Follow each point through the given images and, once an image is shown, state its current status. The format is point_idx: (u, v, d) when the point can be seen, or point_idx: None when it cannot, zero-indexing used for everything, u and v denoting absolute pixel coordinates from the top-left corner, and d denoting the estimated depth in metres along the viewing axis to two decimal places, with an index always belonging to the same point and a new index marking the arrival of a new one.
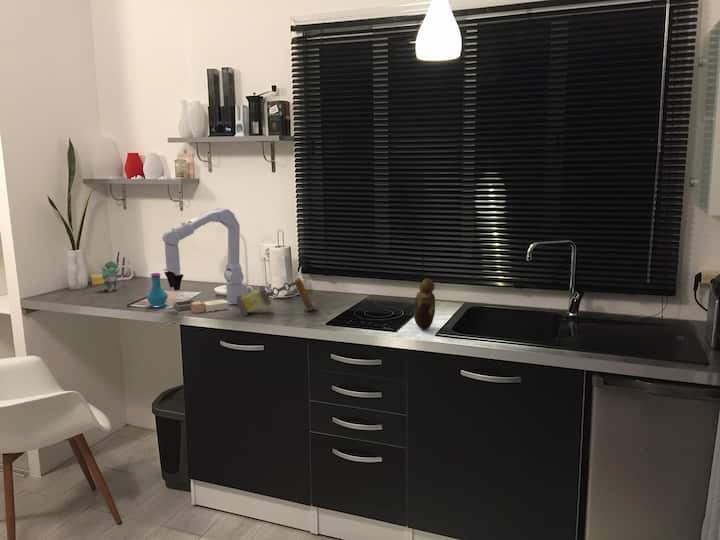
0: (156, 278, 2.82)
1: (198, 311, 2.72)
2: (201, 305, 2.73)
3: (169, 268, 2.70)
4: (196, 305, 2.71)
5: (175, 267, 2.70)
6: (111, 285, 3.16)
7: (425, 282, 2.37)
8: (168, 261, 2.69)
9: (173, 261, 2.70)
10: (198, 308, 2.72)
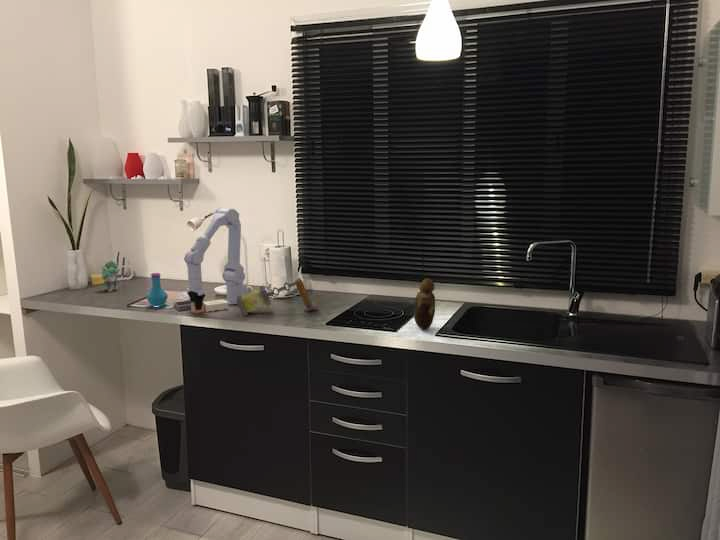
0: (156, 278, 2.82)
1: (198, 311, 2.72)
2: None
3: (192, 288, 2.70)
4: None
5: (198, 287, 2.70)
6: (111, 285, 3.16)
7: (425, 282, 2.37)
8: (191, 281, 2.69)
9: (196, 281, 2.69)
10: None
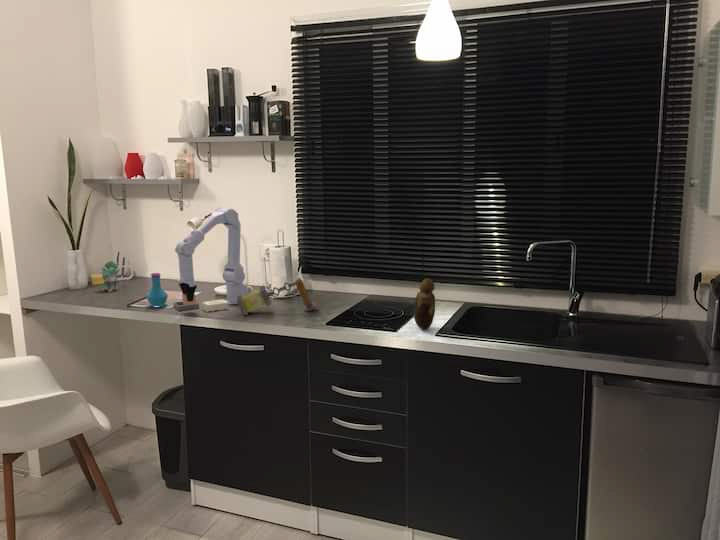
0: (156, 278, 2.82)
1: (189, 303, 2.70)
2: None
3: (183, 279, 2.67)
4: None
5: (189, 278, 2.68)
6: (111, 285, 3.16)
7: (425, 282, 2.37)
8: (182, 272, 2.67)
9: (187, 272, 2.67)
10: None
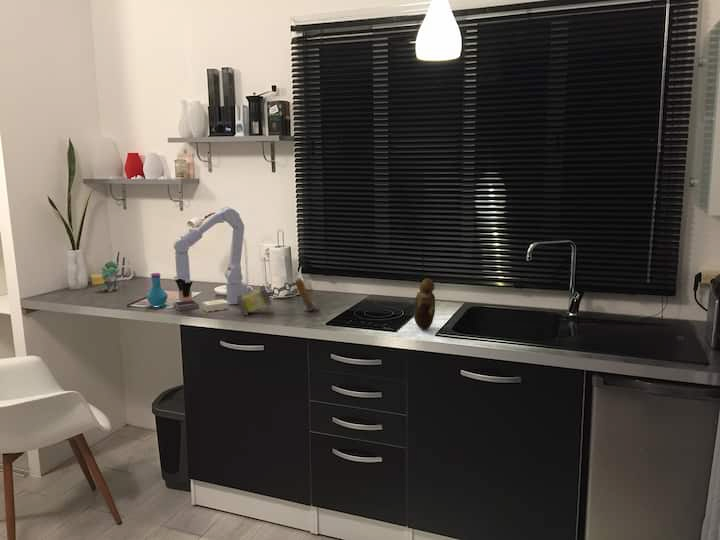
0: (156, 278, 2.82)
1: (185, 299, 2.79)
2: None
3: (179, 275, 2.76)
4: None
5: (185, 274, 2.77)
6: (111, 285, 3.16)
7: (425, 282, 2.37)
8: (178, 269, 2.76)
9: (183, 269, 2.76)
10: None
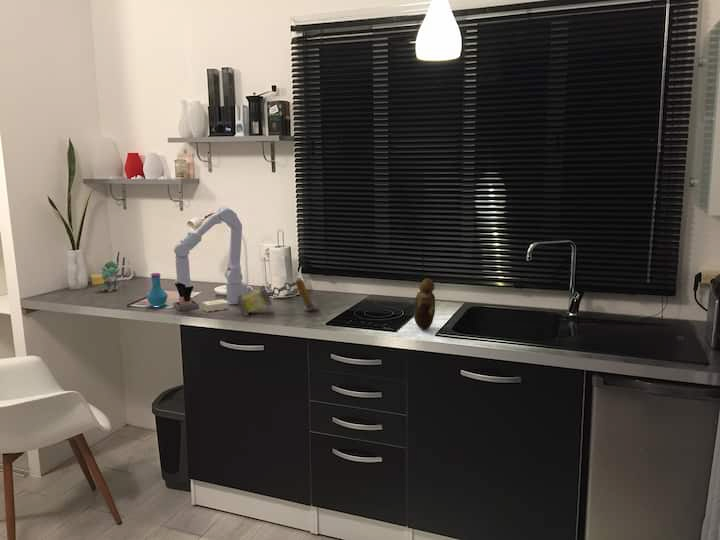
0: (156, 278, 2.82)
1: None
2: None
3: (180, 279, 2.77)
4: None
5: (185, 279, 2.77)
6: (111, 285, 3.16)
7: (425, 282, 2.37)
8: (179, 273, 2.76)
9: (183, 273, 2.76)
10: (186, 302, 2.79)
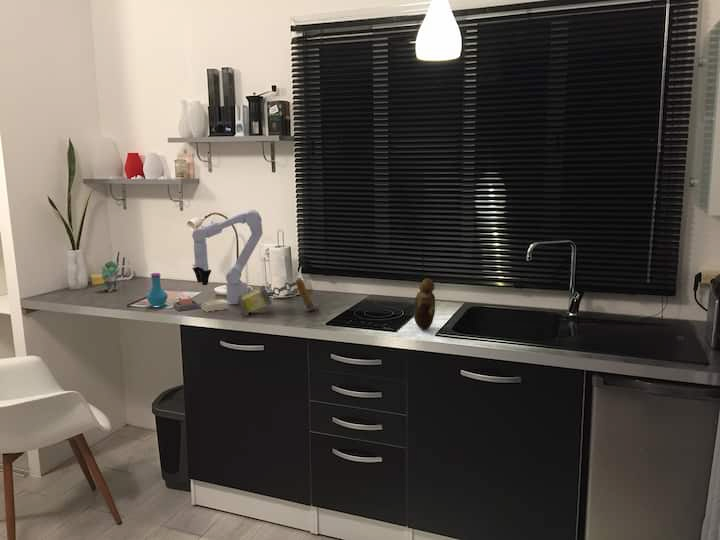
0: (156, 278, 2.82)
1: None
2: (189, 300, 2.80)
3: (198, 263, 2.83)
4: (184, 300, 2.78)
5: (203, 263, 2.83)
6: (111, 285, 3.16)
7: (425, 282, 2.37)
8: (197, 257, 2.82)
9: (201, 257, 2.82)
10: (186, 302, 2.79)
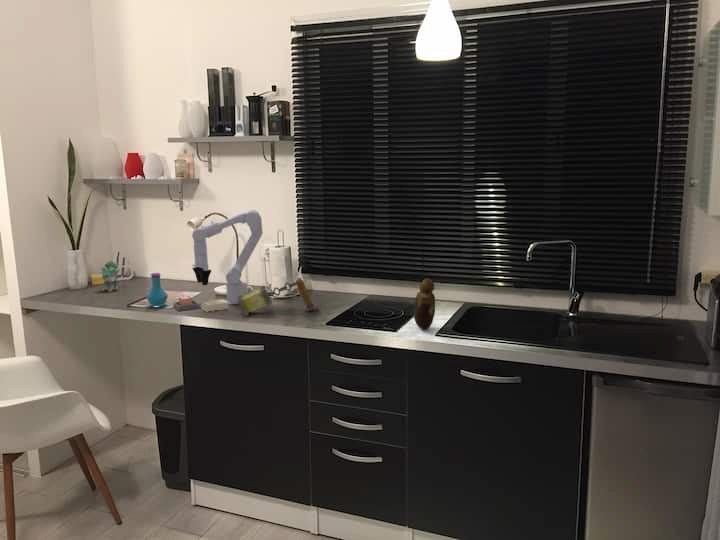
0: (156, 278, 2.82)
1: None
2: (189, 300, 2.80)
3: (198, 263, 2.83)
4: (184, 300, 2.78)
5: (203, 263, 2.83)
6: (111, 285, 3.16)
7: (425, 282, 2.37)
8: (197, 257, 2.82)
9: (201, 257, 2.82)
10: (186, 302, 2.79)
